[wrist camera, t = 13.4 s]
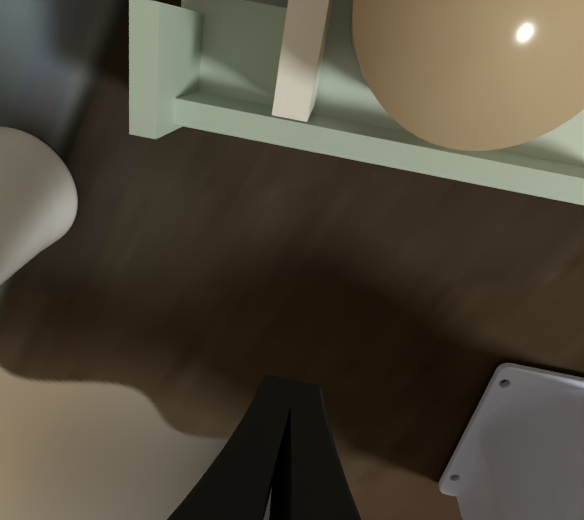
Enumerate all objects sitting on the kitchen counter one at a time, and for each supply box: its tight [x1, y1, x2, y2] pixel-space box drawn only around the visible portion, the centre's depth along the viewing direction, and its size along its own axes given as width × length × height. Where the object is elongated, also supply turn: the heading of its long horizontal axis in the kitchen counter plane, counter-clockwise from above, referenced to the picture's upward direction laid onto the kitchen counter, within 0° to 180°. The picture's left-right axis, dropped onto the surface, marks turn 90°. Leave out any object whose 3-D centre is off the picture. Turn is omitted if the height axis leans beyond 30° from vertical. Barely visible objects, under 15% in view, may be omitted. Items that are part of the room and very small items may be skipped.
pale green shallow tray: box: [129, 0, 584, 205], centre depth 13 cm, size 9×16×5 cm, turn 80°
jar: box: [350, 0, 584, 151], centre depth 11 cm, size 5×5×7 cm
